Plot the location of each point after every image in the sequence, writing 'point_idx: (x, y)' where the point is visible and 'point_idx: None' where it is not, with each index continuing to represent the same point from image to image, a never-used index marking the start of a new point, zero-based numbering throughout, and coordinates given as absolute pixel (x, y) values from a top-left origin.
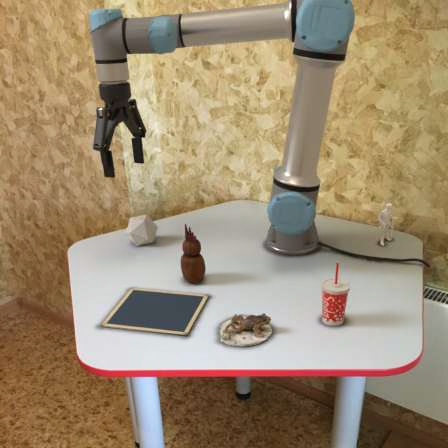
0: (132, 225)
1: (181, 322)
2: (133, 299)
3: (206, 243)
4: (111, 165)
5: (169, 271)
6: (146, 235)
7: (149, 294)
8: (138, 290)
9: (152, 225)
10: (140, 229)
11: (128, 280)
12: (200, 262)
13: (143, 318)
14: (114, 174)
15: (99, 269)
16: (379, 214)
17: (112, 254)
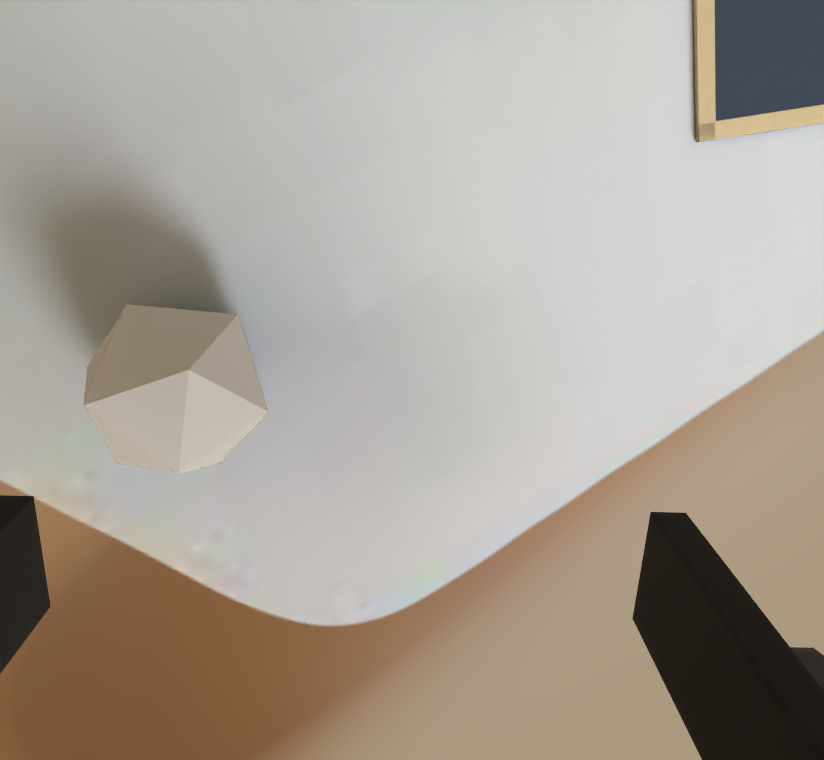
0: (225, 426)
1: None
2: (808, 67)
3: (45, 8)
4: (753, 608)
5: (463, 50)
6: (231, 326)
7: (746, 13)
8: (718, 92)
9: (154, 327)
10: (229, 368)
11: (612, 208)
12: None
13: None
14: (668, 529)
15: (542, 400)
16: None
17: (378, 433)
